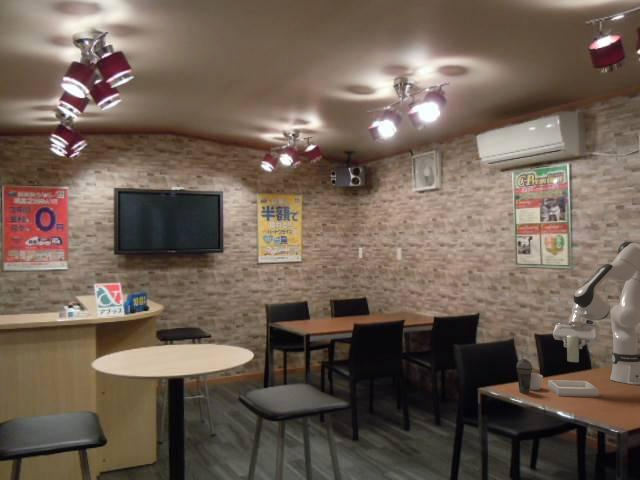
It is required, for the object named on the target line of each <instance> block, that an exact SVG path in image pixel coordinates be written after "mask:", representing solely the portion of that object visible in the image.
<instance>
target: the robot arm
mask: <svg viewBox="0 0 640 480" xmlns="http://www.w3.org/2000/svg"><path fill="white" fill-rule="evenodd" d="M606 279H609V280H611V281H614V282H620V283H623V282H624V285H623V287H622V290H621V296H620V300H619V303H617V304H615V305H614V306H613V307H612V308H611V307H610V305H609V304H608V302H606V301H605V299H603V298H602V297H601V296H600V295H599V294H597V292H596V291H597V290H596V289H597V288H598V287H599V286H600V285H601V284H602V283H603V282H604V281H605V280H606ZM609 314H610V324H611V332H612V342H613V343H612V350H613V351H612V354H611V361H612V368H611V374H610V376H609V377H610V378H609V379H610V380H611V381H614V382H617V383H623V384H628V385H640V354H639V353H638V337H637V336H638V335H637V332H636V327H637V326H638V325H639V324H640V243H637V242H634V241H624V242H622V243H621V244H620V246H619V247H618V248H617V255H616V256H615V257H614V259H613V260H612V261H611V263H606V264H603V265H602V266H600V267H599V268H598V269H597V270H596V271H595V272H594V274H592V275H591V276H590V277H589V278H588V280H586V282H585V283H584V284H582V285H580V286H579V288H577V289H576V290H575V291H574V292H573V305H572V309H571V314H570V316H569V318H568V319H569V320H568V322H567V323H566V322H565V323H562V322H559V323H556V324H555V325H554V329H553V332H552V336H553V337H552V338H553V339H554V340H555V341H556V340H557V341H562V342H563V347H564V348H567V335H577V336H579V344H578V349H579V350H583V347H584V346H585V345H587V344H597V343H599V339H600V335H599V327H598V324H597V322H596V321H599V320H600V321H601V320H605V319H606V318H607V317H608V316H609Z"/></svg>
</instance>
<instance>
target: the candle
mask: <svg viewBox="0 0 640 480" xmlns="http://www.w3.org/2000/svg"><path fill="white" fill-rule="evenodd" d="M543 378H544V376H543V375H542V374H538V373H535V372H534V373H531V381H530V391H533V390H534V391H539V390H541V388H542V383H543Z"/></svg>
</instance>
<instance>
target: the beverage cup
mask: <svg viewBox="0 0 640 480" xmlns="http://www.w3.org/2000/svg"><path fill="white" fill-rule="evenodd" d="M520 353H521V359H519V360H518V361H517V363H516V372H517V382H518V390H519V393H520V394H530V391H531V389H530V381H531V373H532V372H533V365H532V363H531V361H530V360H528V359H525V358H524V356H523V349H520Z"/></svg>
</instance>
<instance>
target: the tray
mask: <svg viewBox="0 0 640 480" xmlns="http://www.w3.org/2000/svg"><path fill="white" fill-rule="evenodd" d="M547 388H548V389H549V390H551V391H552V392H554V393H555V394H556V395H557V396H559V397H583V398H584V397H586V398H587V397H588V398H599V397H600V389H599V388H597V386H595V385H593V384H592V383H590V382H589V381H587V380H563V379H562V380H561V379H558V380H557V379H556V380H555V379H553V380H552V379H548V380H547Z"/></svg>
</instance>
